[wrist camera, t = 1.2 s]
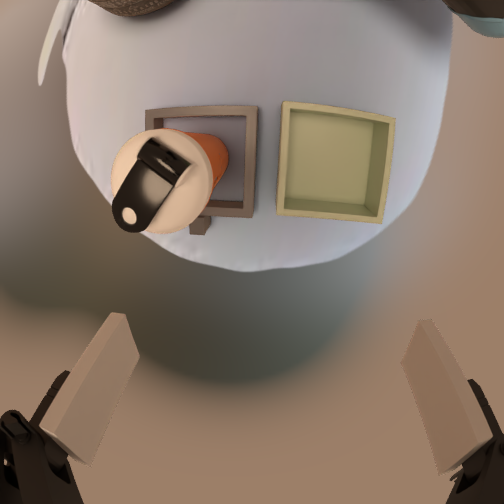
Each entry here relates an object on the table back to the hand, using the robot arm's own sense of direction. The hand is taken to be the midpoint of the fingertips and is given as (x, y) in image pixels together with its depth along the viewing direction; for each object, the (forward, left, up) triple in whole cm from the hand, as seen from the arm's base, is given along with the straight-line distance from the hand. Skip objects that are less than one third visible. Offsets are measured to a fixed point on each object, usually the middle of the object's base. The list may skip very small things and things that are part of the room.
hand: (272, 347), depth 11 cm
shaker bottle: (-4, -10, -30) cm, 32 cm away
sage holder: (-5, +7, -30) cm, 31 cm away
